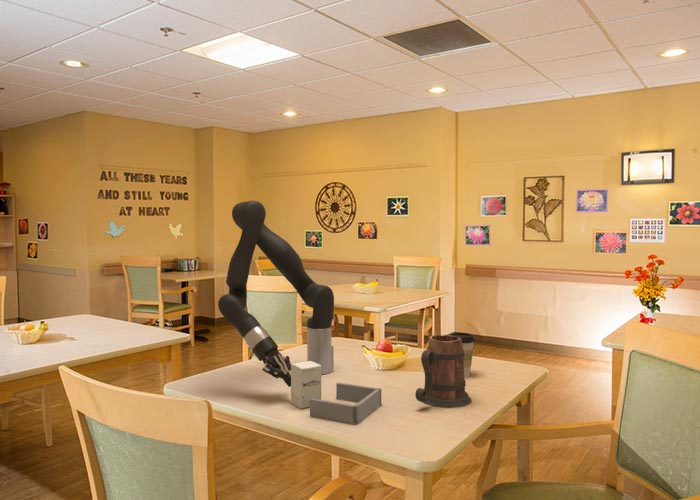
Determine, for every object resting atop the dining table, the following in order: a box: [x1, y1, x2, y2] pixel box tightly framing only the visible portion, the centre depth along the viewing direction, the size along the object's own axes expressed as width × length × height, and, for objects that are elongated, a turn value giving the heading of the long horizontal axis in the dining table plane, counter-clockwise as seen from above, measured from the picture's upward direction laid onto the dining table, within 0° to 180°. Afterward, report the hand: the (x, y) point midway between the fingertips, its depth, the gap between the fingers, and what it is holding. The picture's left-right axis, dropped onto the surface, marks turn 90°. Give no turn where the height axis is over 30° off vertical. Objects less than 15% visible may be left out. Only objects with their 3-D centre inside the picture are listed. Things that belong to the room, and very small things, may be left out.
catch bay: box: [309, 381, 382, 426], centre depth 162 cm, size 15×18×5 cm
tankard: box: [415, 334, 472, 409], centre depth 170 cm, size 24×17×20 cm
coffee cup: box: [449, 332, 476, 378], centre depth 199 cm, size 10×10×15 cm
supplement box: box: [290, 360, 322, 409], centre depth 168 cm, size 7×7×13 cm
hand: (292, 384), depth 170 cm, fingers closed
